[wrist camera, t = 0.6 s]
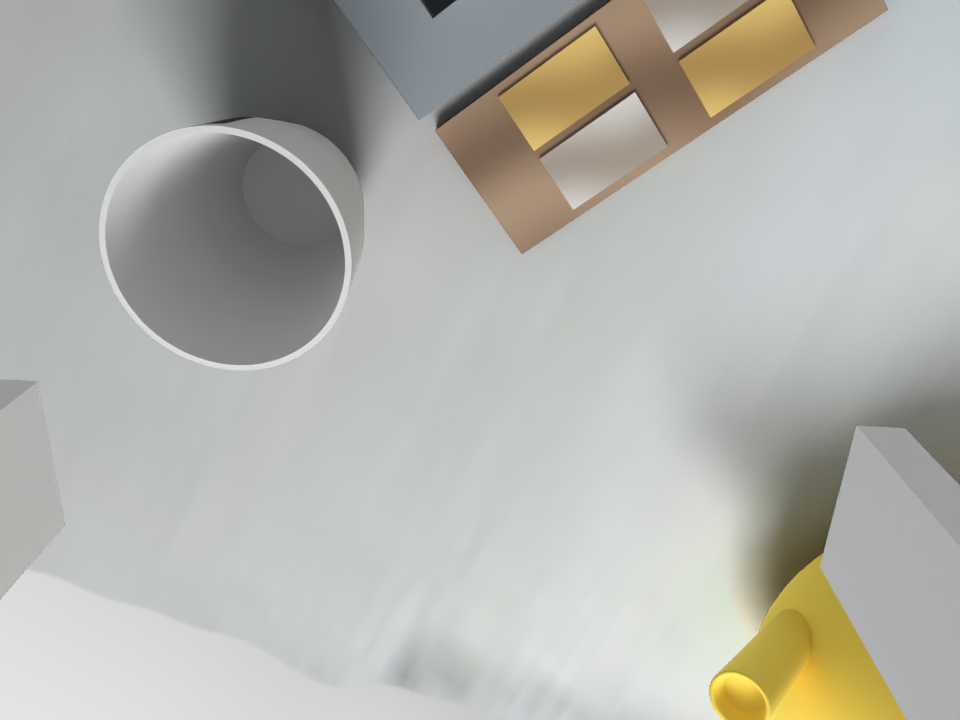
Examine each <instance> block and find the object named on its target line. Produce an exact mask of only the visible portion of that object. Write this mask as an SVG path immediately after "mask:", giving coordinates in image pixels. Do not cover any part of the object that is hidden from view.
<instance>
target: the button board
mask: <svg viewBox="0 0 960 720" xmlns="http://www.w3.org/2000/svg"><path fill="white" fill-rule="evenodd" d="M334 1H335V2H336V4H337V5H338V7H339V8H340V9H341V11H342V12H343V14H344V15H345V16H346V18H347V19H348V21H349V22H350V24H351V25H352V26H353V28H354V29H355V31H356V32H357V33H358V35H359V36H360V38H361V39H362V40H363V42H364V43H365V45H366V46H367V48H368V49H369V50H370V52H371V53H372V55H373V56H374V57H375V59H376V60H377V62H378V63H379V64H380V66H381V67H382V69H383V70H384V72H385V73H386V74H387V76H388V77H389V79H390V80H391V81H392V83H393V84H394V86H395V87H396V88H397V90H398V91H399V93H400V94H401V96H402V97H403V98H404V100H405V101H406V103H407V104H408V105H409V107H410V108H411V110H412V111H413V112H414V114H415V115H416V117H417V118H418V120H420V119H421V118H422V117H424V116H425V115H427V114H428V113H429V112H431V111H432V110H433V109H435V108H436V107H437V106H439V105H440V104H441V103H443V102H444V101H445V100H447V99H448V98H449V97H451V96H452V95H453V94H455V93H456V92H457V91H459V90H460V89H461V88H463V87H464V86H465V85H467V84H468V83H469V82H471V81H472V80H473V79H475V78H476V77H477V76H479V75H480V74H481V73H483V72H484V71H485V70H487V69H488V68H489V67H491V66H492V65H493V64H495V63H496V62H497V61H499V60H500V59H501V58H503V57H504V56H505V55H507V54H508V53H509V52H511V51H512V50H513V49H515V48H516V47H517V46H519V45H520V44H521V43H523V42H524V41H526V40H527V39H528V38H530V37H531V36H532V35H534V34H535V33H536V32H538V31H539V30H540V29H542V28H543V27H544V26H546V25H547V24H548V23H550V22H551V21H552V20H554V19H555V18H556V17H558V16H559V15H560V14H562V13H563V12H564V11H566V10H567V9H568V8H570V7H571V6H572V5H574V4H575V3H576V2H578V1H579V0H334Z"/></svg>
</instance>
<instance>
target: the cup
mask: <svg viewBox="0 0 960 720" xmlns="http://www.w3.org/2000/svg"><path fill="white" fill-rule="evenodd" d="M99 242H100V250H101V256H102V260H103V264H104V268H105V271H106V274H107V276H108V279H109V281H110V284H111V286H112V288H113V290H114V292H115V294H116V295H117V297H118V299H119V301H120V302H121V304H122V305H123V307H124V308H125V309H126V311H127V312H128V313H129V315H130V316H131V317H132V318H133V319H134V321H135V322H136V323H137V324H138V325H139V326H140V327H141V328H142V329H143V330H144V331H145V332H146V333H148V334H149V335H150V336H151V337H152V338H153V339H155V340H156V341H157V342H159V343H160V344H162V345H163V346H165V347H166V348H168V349H169V350H171V351H173V352H175V353H176V354H178V355H180V356H182V357H184V358H187V359H189V360H191V361H194V362H197V363H200V364H203V365H206V366H210V367H215V368H220V369H227V370H258V369H264V368H269V367H273V366H277V365H280V364H283V363H285V362H288V361H290V360H292V359H294V358H296V357H298V356H300V355H302V354H303V353H305V352H306V351H308V350H309V349H311V348H312V347H313V346H314V345H316V344H317V343H318V342H319V341H320V340H321V339H322V338H323V337H324V336H325V335H326V334H327V332H328V331H329V330H330V329H331V327H332V326H333V324H334V323H335V321H336V320H337V318H338V316H339V314H340V312H341V310H342V308H343V306H344V303H345V300H346V298H347V295H348V292H349V289H350V286H351V283H352V281H353V278H354V275H355V272H356V269H357V266H358V263H359V260H360V257H361V253H362V249H363V242H364V202H363V194H362V190H361V186H360V183H359V180H358V177H357V175H356V173H355V171H354V169H353V167H352V165H351V164H350V162H349V161H348V159H347V158H346V157H345V155H344V154H343V153H342V152H341V151H340V150H339V149H338V148H337V147H336V146H335V145H334V144H333V143H332V142H331V141H330V140H328V139H327V138H326V137H324V136H323V135H321V134H320V133H318V132H316V131H314V130H312V129H310V128H308V127H305V126H302V125H299V124H296V123H291V122H285V121H279V120H272V119H266V118H258V117H240V118H232V119H227V120H221V121H216V122H211V123H206V124H201V125H196V126H191V127H186V128H181V129H177V130H174V131H171V132H168V133H165V134H163V135H160V136H158V137H156V138H154V139H152V140H151V141H149V142H147V143H146V144H144V145H143V146H141V147H140V148H139V149H137V150H136V151H135V152H134V153H133V154H132V155H131V156H129V157H128V159H127V160H126V161H125V162H124V163H123V164H122V165H121V167H120V168H119V169H118V171H117V172H116V174H115V175H114V177H113V179H112V181H111V183H110V185H109V187H108V189H107V191H106V194H105V197H104V200H103V204H102V208H101V213H100V221H99Z"/></svg>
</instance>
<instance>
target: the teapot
mask: <svg viewBox="0 0 960 720" xmlns="http://www.w3.org/2000/svg"><path fill="white" fill-rule="evenodd" d="M822 556H823V554H821V555H820V556H818V557H817V558H816V559H814V560H813V561H812V562H810V563H809V564H808V565H807V566H806V567H804V568H803V569H802V570H801V571H800V572H799V573H798V574H797V575H796V576H795V577H794V578H793V579H792V580H791V581H790V582H789V583H788V584H787V586H786V587H785V588H784V589H783V591H782V592H781V593H780V595H779V596H778V597H777V599H776V600H775V601H774V603H773V604H772V606H771V607H770V609H769V611H768V613H767V615H766V617H765V618H764V620H763V622H762V624H761V627H760V630H759V632H758V634H757V635H756V636H755V637H754V638H753V639H752V640H751V641H750V642H749V643H748V644H747V645H746V646H745V647H744V648H743V649H742V650H741V651H740V652H739V653H738V654H737V655H736V656H735V657H734V658H733V659H732V660H731V661H730V662H729V663H728V664H727V665H726V666H725V667H724V668H723V669H722V670H721V671H720V672H719V673H718V674H717V675H716V676H715V677H714V678H713V680H712V681H711V684H710V687H709V696H710V700H711V703H712V705H713V708H714V709H715V711H716V712H717V714H718V715H719V716H720V717H721V718H722V719H723V720H906V718H905V716H904V714H903V713H902V711H901V709H900V707H899V706H898V704H897V702H896V700H895V699H894V697H893V695H892V693H891V692H890V690H889V688H888V686H887V684H886V683H885V681H884V679H883V677H882V676H881V674H880V672H879V670H878V669H877V667H876V665H875V663H874V662H873V660H872V658H871V656H870V654H869V653H868V651H867V649H866V647H865V646H864V644H863V642H862V640H861V639H860V637H859V635H858V633H857V632H856V630H855V628H854V626H853V624H852V623H851V621H850V619H849V617H848V616H847V614H846V612H845V610H844V609H843V607H842V605H841V603H840V602H839V600H838V598H837V596H836V594H835V593H834V591H833V589H832V587H831V586H830V584H829V582H828V580H827V579H826V577H825V575H824V573H823V571H822V570H821V568H820V564H821V560H822Z"/></svg>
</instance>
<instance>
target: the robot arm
mask: <svg viewBox="0 0 960 720" xmlns="http://www.w3.org/2000/svg"><path fill="white" fill-rule="evenodd" d="M64 525H65V521H64V516H63V511H62V506H61V501H60V495H59V490H58V485H57V480H56V474H55V469H54V464H53V459H52V454H51V448H50V443H49V438H48V433H47V428H46V422H45V417H44V412H43V407H42V401H41V396H40V391H39V386H38V381H20V380H1V379H0V599H1V598H2V597H3V596H4V595H5V594H6V592H7V591H8V590H9V589H10V588H11V587H12V585H13V584H14V583H15V582H16V581H17V580H18V579H19V577H20V576H21V575H22V574H23V573H24V572H25V570H26V569H27V568H28V567H29V566H30V565H31V564H32V562H33V561H34V560H35V559H36V558H37V557H38V555H39V554H40V553H41V552H42V551H43V550H44V549H45V547H46V546H47V545H48V544H49V543H50V542H51V540H52V539H53V538H54V537H55V536H56V535H57V534H58V532H59V531H60V530H61V529H62V528H63V527H64ZM820 568H821V570H822V571H823V573H824V575H825V577H826V579H827V580H828V582H829V584H830V586H831V587H832V589H833V591H834V593H835V594H836V596H837V598H838V600H839V602H840V603H841V605H842V607H843V609H844V610H845V612H846V614H847V616H848V617H849V619H850V621H851V623H852V624H853V626H854V628H855V630H856V632H857V633H858V635H859V637H860V639H861V640H862V642H863V644H864V646H865V647H866V649H867V651H868V653H869V654H870V656H871V658H872V660H873V662H874V663H875V665H876V667H877V669H878V670H879V672H880V674H881V676H882V677H883V679H884V681H885V683H886V684H887V686H888V688H889V690H890V692H891V693H892V695H893V697H894V699H895V700H896V702H897V704H898V706H899V707H900V709H901V711H902V713H903V714H904V716H905V718H906V720H960V485H959V484H958V483H957V482H956V481H955V480H954V479H953V478H952V476H951V475H950V474H949V473H948V472H947V471H946V470H945V469H944V468H943V467H942V466H941V465H940V464H939V463H938V462H937V461H936V460H935V459H934V458H933V457H932V456H931V455H930V454H929V453H928V452H927V451H926V449H925V448H924V447H923V446H922V445H921V444H920V443H919V442H918V441H917V440H916V439H915V438H914V437H913V436H912V435H911V434H910V433H909V432H908V431H907V430H906V429H905V428H896V427H877V426H858V425H856V429H855V433H854V437H853V441H852V445H851V448H850V452H849V456H848V460H847V464H846V468H845V472H844V475H843V479H842V483H841V487H840V491H839V495H838V498H837V502H836V506H835V510H834V514H833V518H832V522H831V525H830V529H829V533H828V537H827V541H826V545H825V548H824V552H823V556H822V560H821V564H820Z"/></svg>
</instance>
